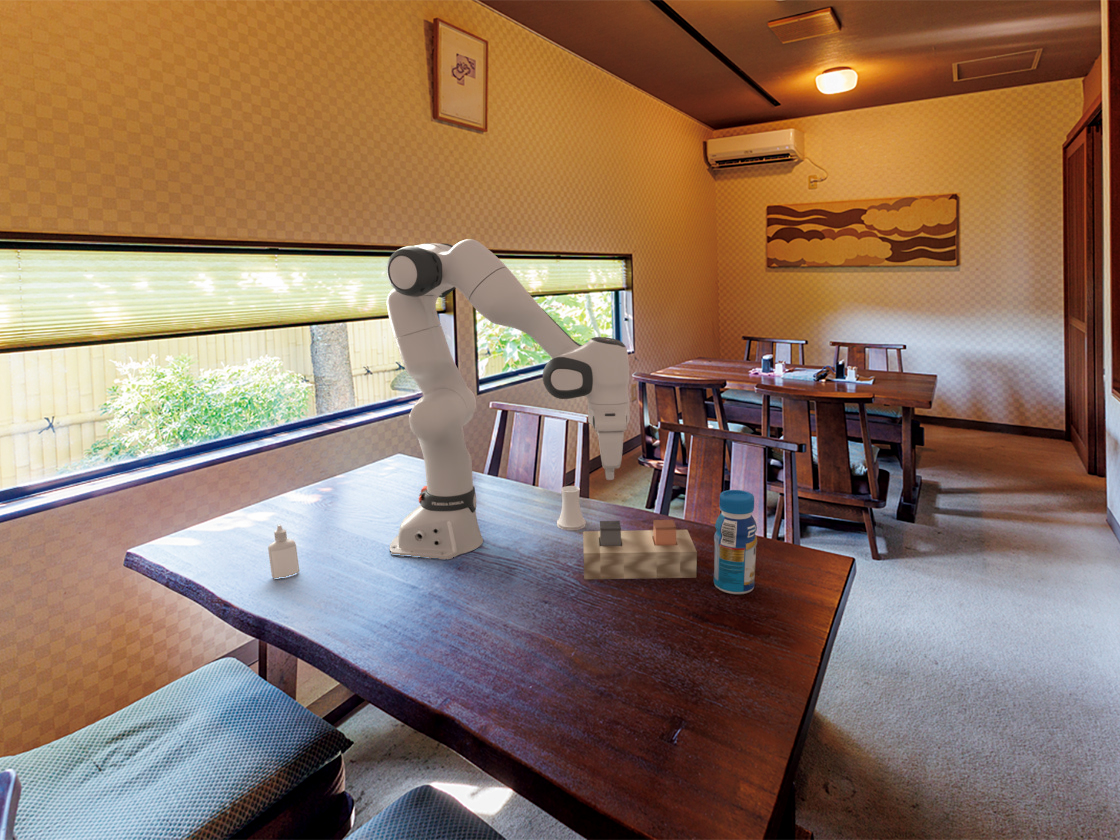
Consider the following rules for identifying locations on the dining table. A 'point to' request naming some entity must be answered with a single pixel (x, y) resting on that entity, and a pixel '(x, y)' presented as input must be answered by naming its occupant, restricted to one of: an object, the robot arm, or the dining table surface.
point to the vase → (571, 510)
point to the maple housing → (639, 557)
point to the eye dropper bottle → (283, 555)
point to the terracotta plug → (664, 532)
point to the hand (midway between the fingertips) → (609, 476)
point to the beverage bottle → (735, 543)
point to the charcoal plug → (610, 533)
